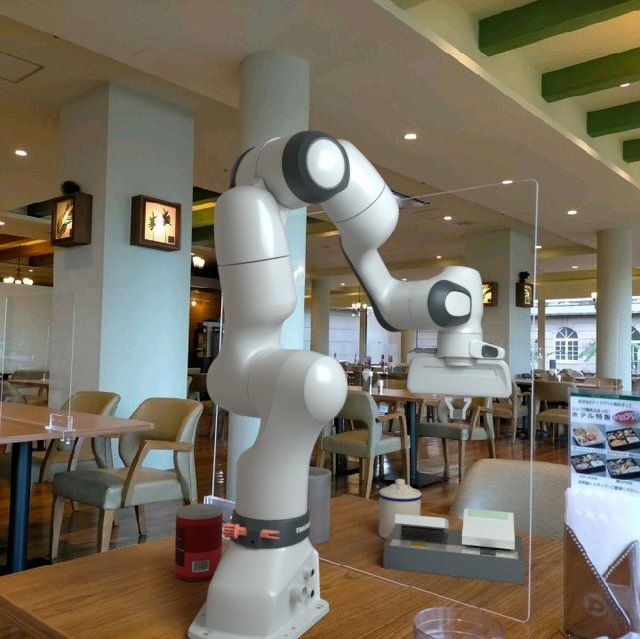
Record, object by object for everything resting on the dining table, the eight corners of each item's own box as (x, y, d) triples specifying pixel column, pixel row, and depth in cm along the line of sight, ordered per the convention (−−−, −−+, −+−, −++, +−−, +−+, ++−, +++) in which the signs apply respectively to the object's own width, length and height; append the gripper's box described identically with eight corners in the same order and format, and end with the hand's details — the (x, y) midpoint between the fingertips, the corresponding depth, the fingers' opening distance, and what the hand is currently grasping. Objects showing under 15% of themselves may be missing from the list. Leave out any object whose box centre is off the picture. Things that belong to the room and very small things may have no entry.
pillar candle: (273, 536, 129) (275, 463, 129) (310, 527, 135) (311, 458, 135) (302, 549, 121) (304, 471, 122) (340, 539, 128) (341, 466, 128)
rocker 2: (514, 549, 109) (514, 539, 109) (461, 544, 111) (461, 534, 111) (513, 520, 118) (513, 511, 118) (464, 516, 121) (464, 507, 121)
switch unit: (524, 584, 105) (524, 551, 105) (383, 567, 112) (384, 537, 112) (521, 557, 119) (521, 528, 119) (395, 544, 125) (395, 516, 125)
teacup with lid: (430, 539, 129) (430, 482, 129) (391, 544, 125) (392, 485, 125) (399, 523, 140) (400, 471, 140) (363, 528, 136) (364, 474, 136)
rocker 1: (444, 527, 112) (445, 516, 113) (395, 523, 114) (395, 512, 115) (448, 529, 121) (448, 519, 122) (402, 524, 124) (402, 514, 124)
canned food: (230, 571, 109) (231, 507, 109) (199, 586, 102) (201, 518, 102) (196, 562, 113) (198, 501, 113) (164, 576, 106) (166, 510, 106)
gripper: (404, 346, 123) (402, 417, 123) (512, 350, 118) (511, 423, 117) (409, 347, 129) (407, 414, 129) (512, 350, 124) (511, 420, 123)
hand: (457, 419), depth 123 cm, fingers closed
